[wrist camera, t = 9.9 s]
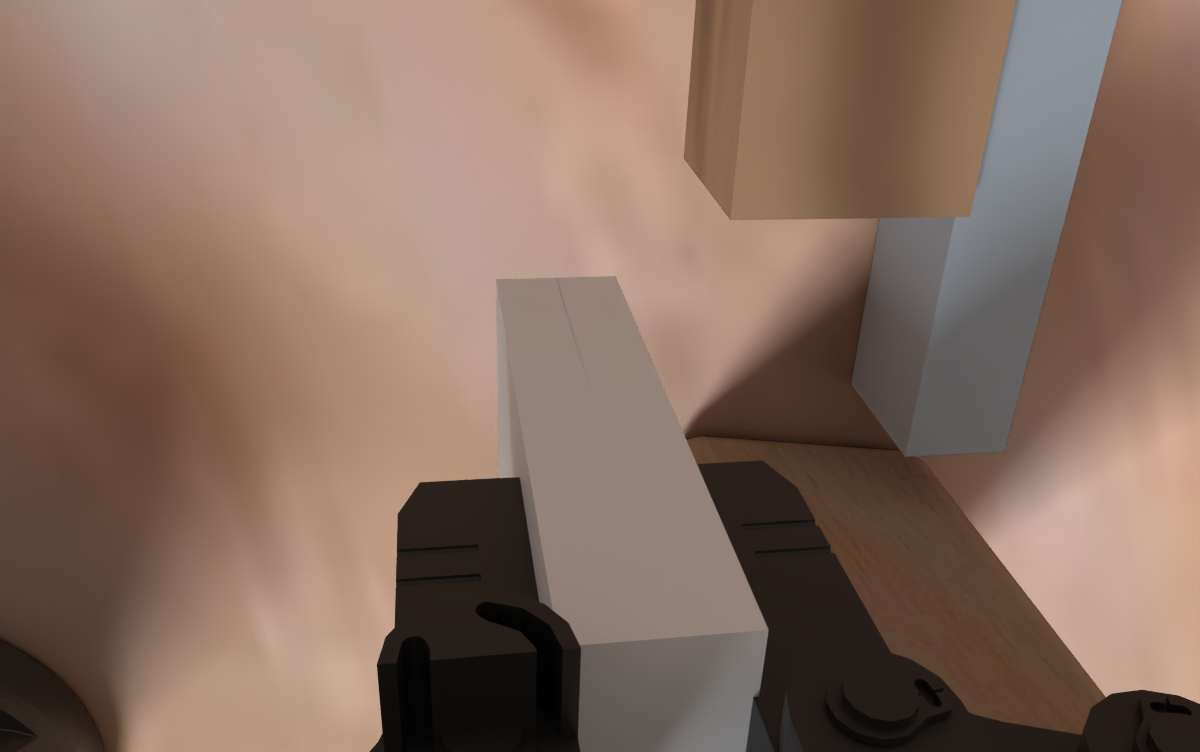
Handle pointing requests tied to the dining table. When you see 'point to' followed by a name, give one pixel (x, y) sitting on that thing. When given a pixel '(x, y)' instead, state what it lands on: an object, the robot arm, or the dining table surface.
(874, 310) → the bar
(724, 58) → the walnut block
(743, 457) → the wooden block
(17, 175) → the dining table surface
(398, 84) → the dining table surface
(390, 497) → the dining table surface
